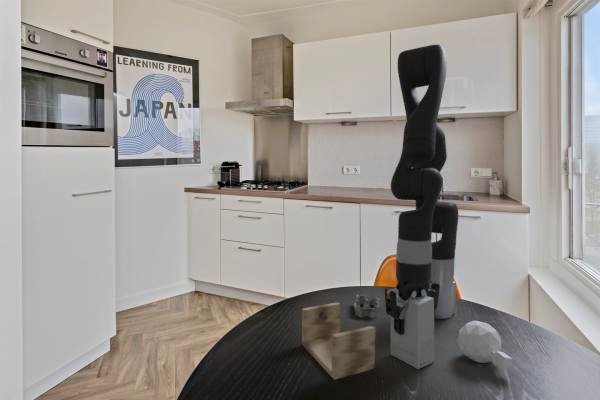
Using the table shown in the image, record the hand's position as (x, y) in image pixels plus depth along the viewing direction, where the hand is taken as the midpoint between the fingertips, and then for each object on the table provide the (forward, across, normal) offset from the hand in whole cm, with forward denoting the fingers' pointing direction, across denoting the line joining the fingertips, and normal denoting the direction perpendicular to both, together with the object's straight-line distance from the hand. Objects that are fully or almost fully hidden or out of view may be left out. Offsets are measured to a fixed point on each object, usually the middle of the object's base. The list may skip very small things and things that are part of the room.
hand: (411, 330), depth 83 cm
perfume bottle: (+7, -13, +8) cm, 17 cm away
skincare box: (+7, 0, 0) cm, 7 cm away
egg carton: (+7, -6, -27) cm, 28 cm away
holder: (+7, +15, -8) cm, 18 cm away
